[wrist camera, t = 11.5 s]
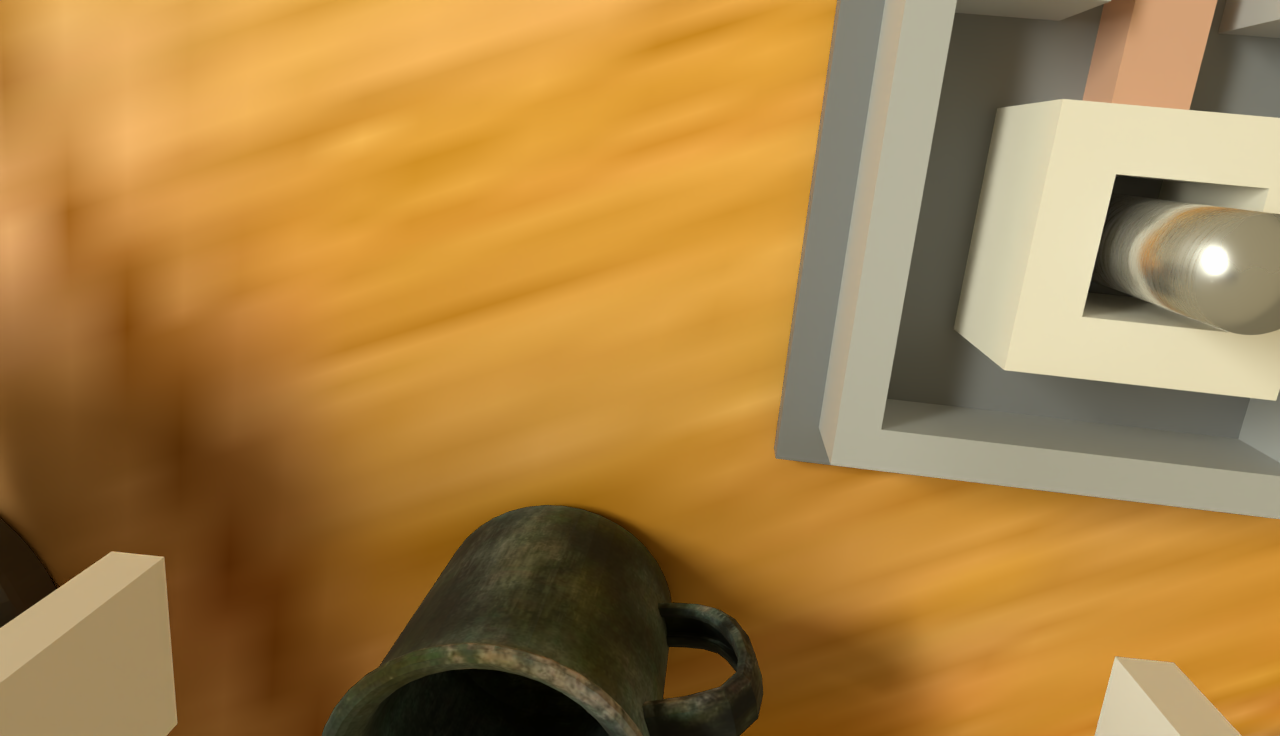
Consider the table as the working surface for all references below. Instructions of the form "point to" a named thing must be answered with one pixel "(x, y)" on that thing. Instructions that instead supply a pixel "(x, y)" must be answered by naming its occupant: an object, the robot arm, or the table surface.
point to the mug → (551, 643)
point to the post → (1194, 260)
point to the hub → (1077, 206)
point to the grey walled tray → (937, 256)
